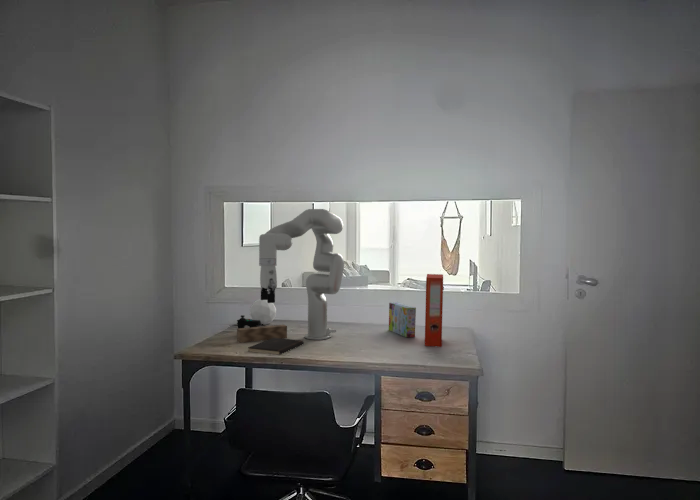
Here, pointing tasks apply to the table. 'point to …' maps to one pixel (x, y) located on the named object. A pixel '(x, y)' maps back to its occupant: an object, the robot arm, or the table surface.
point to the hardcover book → (276, 345)
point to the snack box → (402, 319)
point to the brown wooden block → (261, 333)
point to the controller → (247, 322)
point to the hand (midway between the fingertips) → (267, 301)
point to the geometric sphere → (263, 311)
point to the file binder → (434, 310)
